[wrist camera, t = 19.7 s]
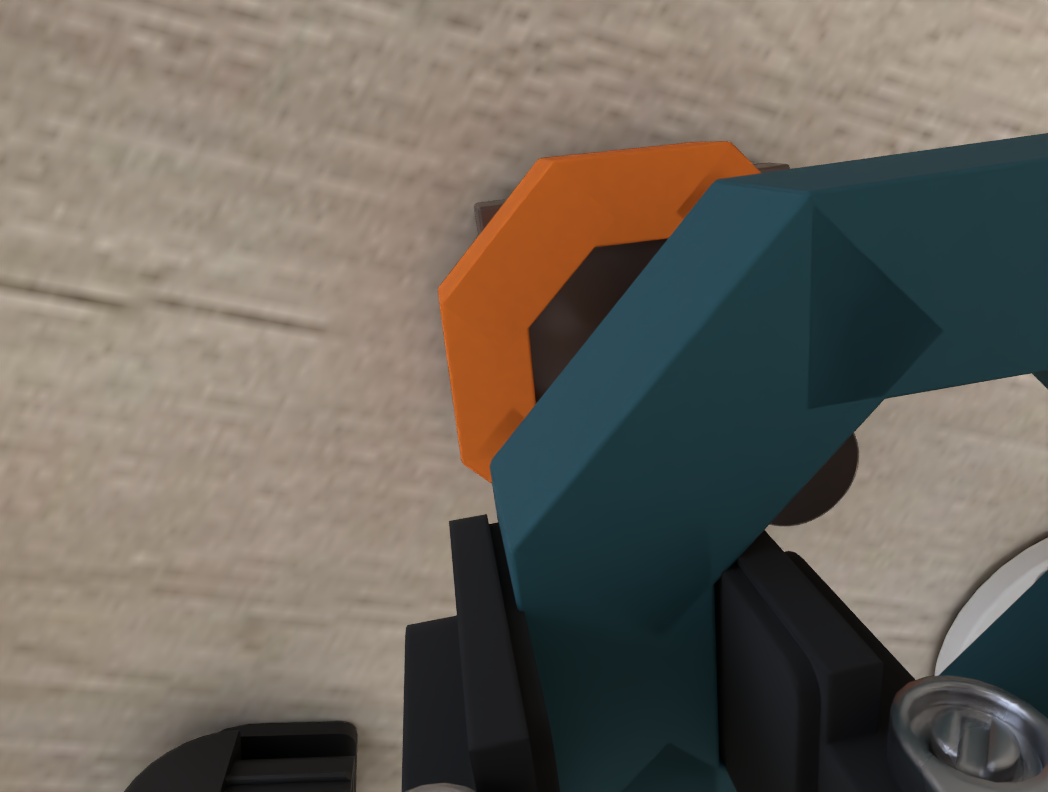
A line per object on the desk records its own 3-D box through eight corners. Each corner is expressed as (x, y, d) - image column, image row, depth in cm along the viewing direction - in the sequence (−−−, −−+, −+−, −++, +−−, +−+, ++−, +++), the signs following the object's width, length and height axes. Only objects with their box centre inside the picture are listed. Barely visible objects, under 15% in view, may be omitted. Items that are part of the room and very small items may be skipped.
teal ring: (1276, 100, 9) (1528, 88, 7) (1122, 730, 13) (1255, 841, 11) (450, 216, 8) (462, 240, 6) (550, 860, 12) (577, 1010, 10)
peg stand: (766, 162, 21) (1063, 177, 11) (766, 431, 24) (998, 624, 15) (473, 203, 20) (522, 256, 11) (512, 476, 24) (578, 711, 14)
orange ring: (806, 130, 20) (851, 128, 17) (791, 474, 23) (827, 506, 21) (421, 170, 18) (421, 173, 16) (470, 524, 22) (475, 562, 20)
